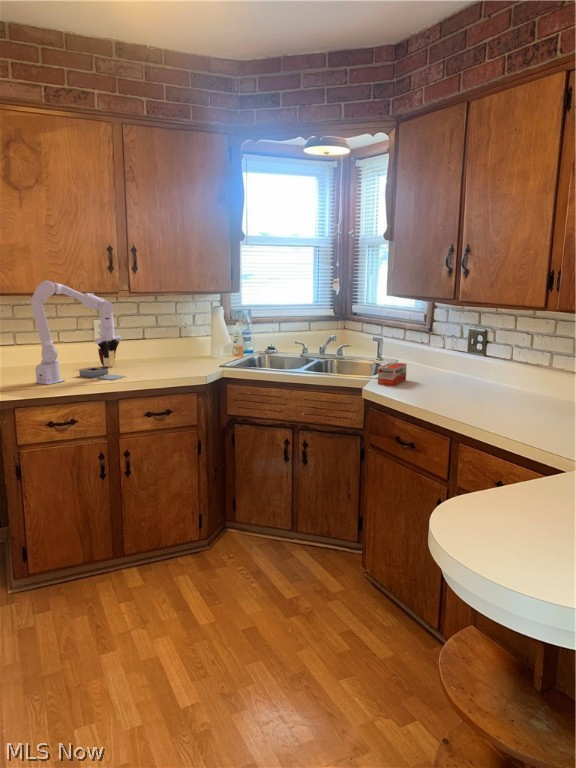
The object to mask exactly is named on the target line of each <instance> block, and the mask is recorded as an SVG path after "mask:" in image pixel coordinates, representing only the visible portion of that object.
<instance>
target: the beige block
mask: <svg viewBox="0 0 576 768" xmlns="http://www.w3.org/2000/svg"><path fill="white" fill-rule="evenodd" d="M115 360H116V354H115V355H114V350H109V357H108V358H104V356H103V361H104V366H107V367H111V366H112V367H114V366H116V361H115ZM112 367H111V368H112Z"/></svg>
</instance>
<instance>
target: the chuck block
mask: <svg viewBox="0 0 576 768" xmlns="http://www.w3.org/2000/svg"><path fill="white" fill-rule="evenodd" d="M78 373H79V377H80V376H81V377H80V378H88V377H89V378H90V379H97V378H98V377H100V376H102V377H103V376H104V375H106V376H107V374H108V375H109V368H104V367H95V366H93V367H88V368H84V369H79V370H78ZM96 377H97V378H96ZM89 378H88V379H89Z"/></svg>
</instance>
